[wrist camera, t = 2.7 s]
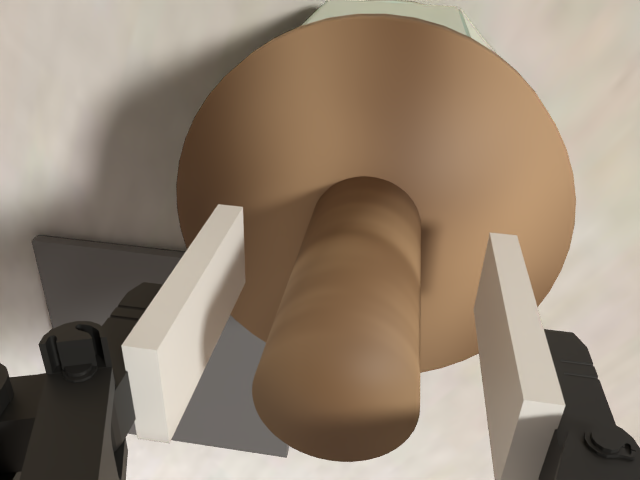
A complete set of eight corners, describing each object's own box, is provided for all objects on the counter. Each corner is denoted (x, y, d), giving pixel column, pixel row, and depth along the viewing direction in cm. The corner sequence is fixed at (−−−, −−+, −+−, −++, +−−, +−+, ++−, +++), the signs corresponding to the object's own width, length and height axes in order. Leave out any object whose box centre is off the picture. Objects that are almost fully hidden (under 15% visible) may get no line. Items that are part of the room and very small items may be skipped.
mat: (81, 418, 39) (76, 425, 38) (38, 235, 32) (31, 240, 31) (288, 449, 37) (286, 457, 37) (291, 264, 30) (289, 270, 30)
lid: (199, 336, 24) (93, 538, 16) (170, 0, 18) (-26, 73, 10) (522, 378, 23) (573, 622, 15) (620, 28, 16) (800, 140, 8)
